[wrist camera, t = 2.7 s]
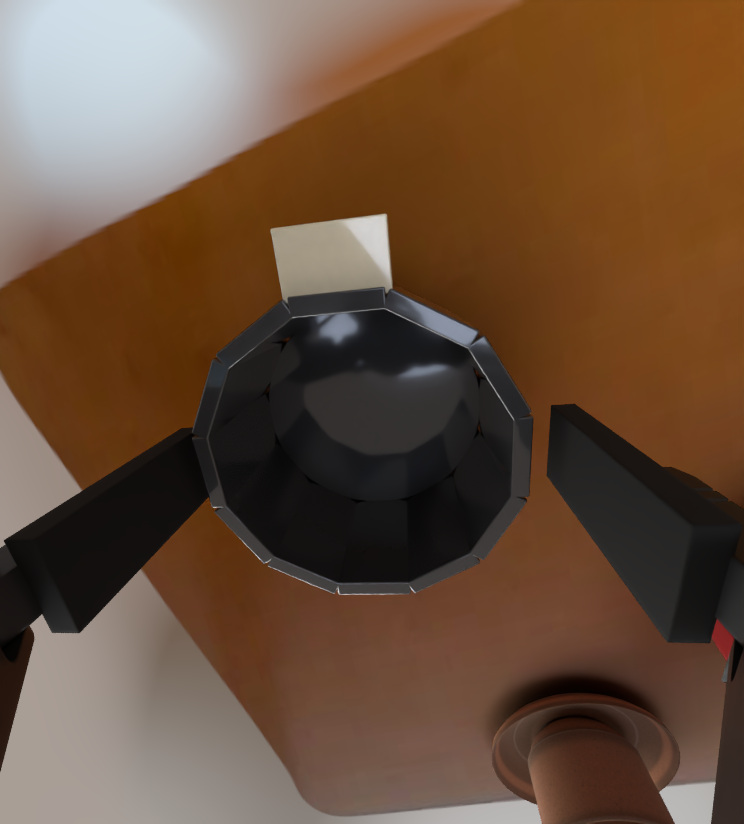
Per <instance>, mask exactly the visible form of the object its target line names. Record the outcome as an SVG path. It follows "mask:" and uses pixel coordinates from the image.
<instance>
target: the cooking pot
mask: <svg viewBox="0 0 744 824" xmlns="http://www.w3.org/2000/svg"><path fill="white" fill-rule="evenodd" d="M271 236H272V241H273V247H274V253H275V258H276V264H277V270H278V275H279V281H280V287H281V292H282V298H283V300H281V301H279V302H278V303H277V304H276V305H274V306H273V307H272V308H271V309H270V310H268V311H267V312H266V313H265V314H264V315H262V316H261V317H260V318H259V319H258V320H256V321H255V322H254V323H253V324H251V325H250V326H249V327H248V328H247V329H245V330H244V331H243V332H242V333H241V334H239V335H238V336H237V337H236V338H234V339H233V340H232V341H231V342H230V343H228V344H227V345H226V346H225V347H224V348H222V349H221V350H220V351H219V352H218V353H217V354H216V357H217V358H214V359H213V360H212V362H211V366H210V370H209V373H208V377H207V380H206V384H205V387H204V391H203V394H202V398H201V402H200V405H199V409H198V412H197V416H196V419H195V423H194V426H193V430H192V434H194V435H195V436H194V437H192V441H193V445H194V448H195V451H196V455H197V458H198V462H199V465H200V468H201V472H202V475H203V479H204V482H205V485H206V489H207V492H208V495H209V499H210V502H211V506H212V508H217V509H216V510H215V513H216V514H217V515H218V516H219V517H220V518H221V519H222V520H223V522H224V523H225V524H226V525H227V526H228V527H229V528H230V529H231V530H232V531H233V532H234V533H235V534H236V535H237V536H238V537H239V538H240V539H241V540H242V541H243V542H244V543H245V545H246V546H247V547H248V548H249V549H250V550H251V551H252V552H253V553H254V554H255V555H256V556H257V557H258V558H259V559H260V560H261V561H262V562H263V563H264V564H265V563H267V562H269V564H268V567H270V568H273V569H275V570H278V571H280V572H282V573H285V574H287V575H290V576H292V577H295V578H297V579H299V580H302V581H304V582H307V583H309V584H311V585H314V586H316V587H319V588H321V589H323V590H326V591H328V592H331V593H333V594H334V593H335V592H336V590H337V589H338V593H339V594H340V595H364V594H410V593H411V589H412V590H413V592H414V593H417V592H419V591H421V590H423V589H425V588H427V587H430V586H432V585H434V584H436V583H438V582H440V581H443V580H445V579H447V578H449V577H451V576H453V575H455V574H458V573H460V572H462V571H464V570H466V569H468V568H471V567H473V566H475V565H477V564H479V563H480V560H479V558H480V559H482V560H484V559H485V558H486V557H487V555H488V554H489V553H490V551H491V550H492V549H493V547H494V546H495V544H496V543H497V542H498V540H499V539H500V538H501V536H502V535H503V534H504V532H505V531H506V529H507V528H508V527H509V525H510V524H511V523H512V521H513V520H514V519H515V517H516V516H517V515H518V513H519V512H520V510H521V509H522V508H523V506H524V505H525V504H526V502H527V499H526V497H528V496H529V493H530V474H531V455H532V435H533V416H532V415H531V414H530V413H531V409H530V407H529V405H528V404H527V402H526V401H525V399H524V397H523V396H522V394H521V393H520V391H519V389H518V388H517V386H516V384H515V383H514V381H513V380H512V378H511V376H510V375H509V373H508V371H507V370H506V368H505V367H504V365H503V363H502V362H501V360H500V358H499V357H498V355H497V354H496V352H495V350H494V349H493V347H492V346H491V344H490V342H489V341H488V339H487V337H486V336H485V335H483V334H482V333H480V331H479V330H478V329H477V328H475V327H474V326H472V325H471V324H469V323H468V322H466V321H465V320H463V319H462V318H460V317H459V316H457V315H456V314H454V313H453V312H451V311H449V310H447V309H445V308H443V307H440V306H438V305H436V304H434V303H432V302H430V301H428V300H426V299H424V298H422V297H420V296H418V295H416V294H413V293H411V292H409V291H407V290H405V289H403V288H401V287H399V286H394V287H393V274H392V261H391V248H390V235H389V223H388V217H387V214H385V213H384V214H377V215H369V216H362V217H354V218H346V219H339V220H331V221H324V222H316V223H308V224H301V225H293V226H286V227H278V228H272V229H271ZM475 371H476V372H475ZM476 373H477V375H476Z"/></svg>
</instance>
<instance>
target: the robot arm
mask: <svg viewBox="0 0 744 824" xmlns="http://www.w3.org/2000/svg"><path fill="white" fill-rule="evenodd" d="M192 430H193V428H181V429H180V430H178V431H177V432H175V433H173V434H172V435H170V436H169V437H167V438H166V439H164V440H162V441H161V442H159V443H158V444H156V445H154V446H153V447H151V448H150V449H148V450H147V451H145V452H143V453H142V454H140V455H139V456H137V457H135V458H134V459H132V460H131V461H129V462H127V463H126V464H124V465H123V466H121V467H120V468H118V469H116V470H115V471H113V472H112V473H110V474H108V475H107V476H105V477H104V478H102V479H101V480H99V481H97V482H96V483H94V484H93V485H91V486H89V487H88V488H86V489H85V490H83V491H81V492H80V493H79V494H77V495H75V496H74V497H72V498H70V499H69V500H67V501H66V502H64V503H63V504H61V505H59V506H58V507H56V508H55V509H53V510H51V511H50V512H48V513H47V514H45V515H44V516H42V517H40V518H39V519H37V520H36V521H34V522H32V523H31V524H29V525H28V526H26V527H24V528H23V529H21V530H20V531H18V532H16V533H15V534H13V535H12V536H10V537H9V538H7V539H5V540H4V542H5V544H6V545H4V546H3V547H1V548H0V771H1V767H2V763H3V759H4V755H5V752H6V748H7V744H8V740H9V736H10V732H11V728H12V724H13V720H14V717H15V712H16V709H17V704H18V701H19V697H20V693H21V689H22V686H23V681H24V678H25V674H26V670H27V666H28V662H29V658H30V654H31V651H32V646H33V642H34V633H33V631H32V630H31V628H30V626H29V625H30V624H31V623H33V622H34V621H35V620H36V619H37V618H38V617H39V616H40V615H41V614H43V616H44V618H45V620H46V622H47V624H48V626H49V628H50V630H51V631H52V633H80V632H81V631H82V630H83V629H84V628H85V627H86V626H87V625H88V624H89V623H90V621H92V619H93V618H94V617H95V616H96V615H97V614H98V613H99V612H100V611H101V610H102V609H103V608H104V607H105V606H106V604H108V603H109V601H110V600H111V599H112V598H113V597H114V596H115V595H116V594H117V593H118V592H119V591H120V590H121V589H122V588H123V587H124V586H125V585H126V584H127V583H128V581H129V580H130V579H131V578H132V577H133V576H134V575H135V574H136V573H137V572H138V571H139V570H140V569H141V568H142V567H143V566H144V565H145V564H146V562H147V561H148V560H149V559H150V558H151V557H152V556H153V555H154V554H155V553H156V552H157V551H158V550H159V549H160V548H161V547H162V546H163V544H164V543H165V542H166V541H167V540H168V539H169V538H170V537H171V536H172V535H173V534H174V533H175V532H176V531H177V530H178V529H179V528H180V527H181V525H182V524H183V523H184V522H185V521H186V520H187V519H188V518H189V517H190V516H191V515H192V514H193V513H194V512H195V511H196V510H197V509H198V508H199V506H200V505H201V504H202V503H203V502H204V501H205V500H206V499H207V498H208V497H209V495H208V492H207V489H206V485H205V482H204V479H203V475H202V472H201V468H200V465H199V462H198V458H197V455H196V451H195V448H194V445H193V441H192V437H194V436H195V435H194V434H192ZM547 477H548V478H549V479H550V481H551V482H552V484H553V485H554V486H555V488H556V489H557V490H558V492H559V493H560V495H561V496H562V497H563V499H564V500H565V502H566V503H567V504H568V506H569V507H570V508H571V510H572V511H573V513H574V514H575V515H576V517H577V518H578V520H579V521H580V522H581V524H582V525H583V526H584V528H585V529H586V531H587V532H588V533H589V535H590V536H591V538H592V539H593V540H594V542H595V543H596V544H597V546H598V547H599V549H600V550H601V551H602V553H603V554H604V556H605V557H606V558H607V560H608V561H609V562H610V564H611V565H612V567H613V568H614V569H615V571H616V572H617V574H618V575H619V576H620V578H621V579H622V580H623V582H624V583H625V585H626V586H627V587H628V589H629V590H630V592H631V593H632V594H633V596H634V597H635V599H636V600H637V601H638V603H639V604H640V605H641V607H642V608H643V610H644V611H645V612H646V614H647V615H648V617H649V618H650V619H651V621H652V622H653V623H654V625H655V626H656V628H657V629H658V630H659V632H660V633H661V635H662V636H663V637H664V639H665V640H666V641H667V642H671V643H710V641H711V638H712V634H713V631H714V627H715V623H716V620H718V621H719V622H720V623H721V624H722V625H723V626H724V627H725V628H726V629H727V630H728V632H729V633H730V634H731V635H732V636H733V637H734V641H733V644H732V647H731V650H730V654H729V657H728V660H727V664H726V667H725V670H724V673H723V677H722V680H721V681H723V682H725V683H727V684H726V694H725V703H724V712H723V721H722V730H721V739H720V748H719V757H718V766H717V775H716V784H715V794H714V802H713V812H712V820H711V824H744V509H742V508H741V507H739V506H738V505H736V504H735V503H733V502H732V501H728V499H727V498H726V497H724V496H723V495H721V494H720V493H718V492H717V491H713V490H712V488H711V487H709V486H708V485H706V484H705V483H703V482H702V481H701V480H699V479H698V478H696V477H694V476H692V475H690V474H687V473H685V472H682V471H680V470H677V469H675V468H672V467H662V466H660V465H659V464H658V463H656V462H655V461H653V460H652V459H651V458H649V457H648V456H646V455H645V454H644V453H642V452H641V451H639V450H638V449H637V448H635V447H634V446H632V445H631V444H630V443H628V442H627V441H626V440H624V439H623V438H621V437H620V436H619V435H617V434H616V433H614V432H613V431H612V430H610V429H609V428H607V427H606V426H605V425H603V424H602V423H600V422H599V421H598V420H596V419H595V418H594V417H592V416H591V415H589V414H588V413H587V412H585V411H584V410H582V409H581V408H580V407H578V406H577V405H575V404H565V405H551V417H550V432H549V448H548V463H547Z"/></svg>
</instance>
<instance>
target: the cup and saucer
mask: <svg viewBox="0 0 744 824" xmlns="http://www.w3.org/2000/svg"><path fill="white" fill-rule="evenodd" d="M492 764H493V768H494V771H495V773H496V775H497V777H498V778H499V780H500V781H501V782H502V783H503V784H504V785H505V786H506V787H507V788H508V789H509V790H510V791H512V792H513V793H514V794H516V795H518V796H519V797H521V798H523V799H525V800H527V801H529V802H531V803H534V804H537V805H538V808H539V813H540V817H541V821H542V824H675V823H674V822H673V819H672V817H671V815H670V813H669V811H668V809H667V807H666V805H665V804H664V802H663V799H662V797H661V796H660V794H659V792H660V791H661V790H662V789H663V788H665V787H666V786H667V785H668V784H669V783H670V781H671V780H672V779H673V777H674V776H675V774H676V772H677V770H678V767H679V764H680V751H679V747H678V744H677V742H676V740H675V739H674V737H673V736H672V734H671V733H670V732H669V730H668V729H667V728H666V727H665V726H664V725H663V723H662V722H660V721H659V720H658V719H657V718H656V717H655V716H653V715H652V714H651V713H649V712H647V711H645V710H644V709H642V708H640V707H637V706H635V705H633V704H631V703H629V702H626V701H624V700H621V699H618V698H615V697H611V696H606V695H600V694H593V693H566V694H559V695H553V696H549V697H545V698H542V699H538V700H536V701H533V702H531V703H529V704H527V705H525V706H523V707H522V708H520V709H518V710H517V711H515V712H514V713H513V714H512V715H511V716H509V717H508V719H507V720H506V721H505V722H504V723H503V724H502V726H501V727H500V729H499V730H498V732H497V733H496V735H495V737H494V740H493V744H492Z"/></svg>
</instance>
